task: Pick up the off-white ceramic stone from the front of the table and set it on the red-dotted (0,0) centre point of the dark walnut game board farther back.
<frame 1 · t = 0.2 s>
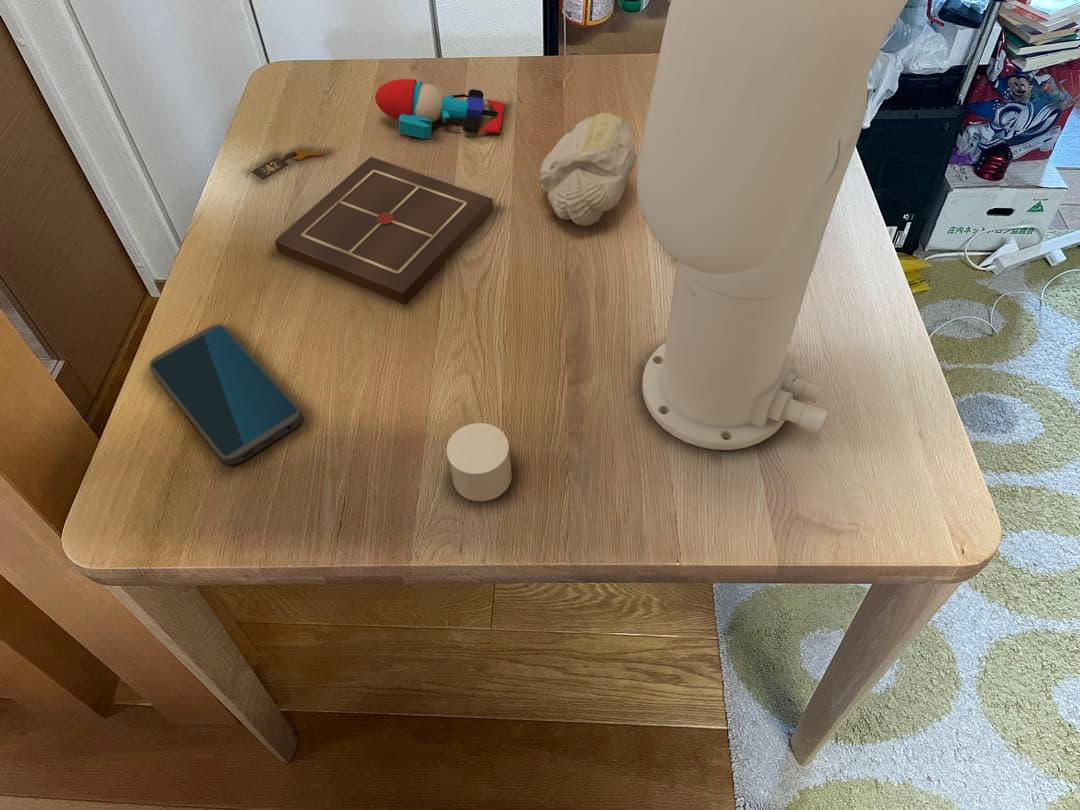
smartphone: (226, 394, 72), on the table
key tag: (289, 166, 93), on the table
toy figure: (441, 123, 98), on the table
board: (387, 230, 85), on the table
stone: (482, 476, 66), on the table
stone block: (717, 231, 84), on the table
fossil replica: (587, 201, 88), on the table
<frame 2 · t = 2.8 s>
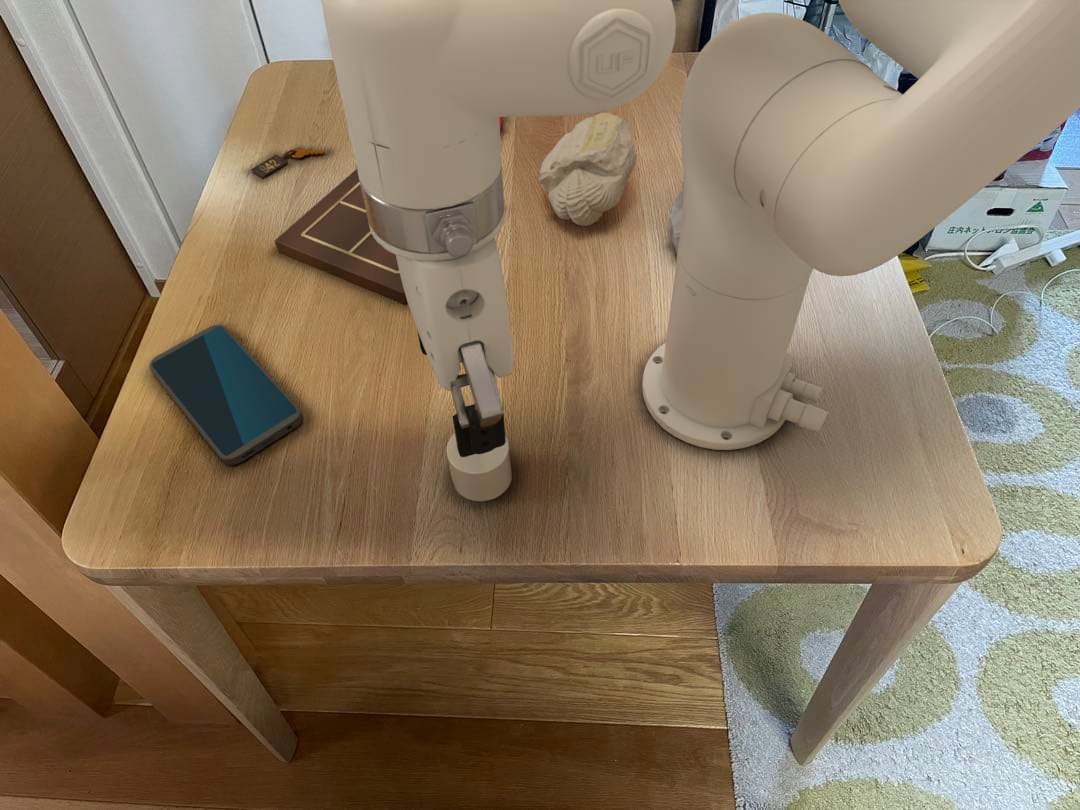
hand: (461, 395, 58), 10 cm above the table, tool pointing down, fingers open, 9 cm apart
nothing on the table moved.
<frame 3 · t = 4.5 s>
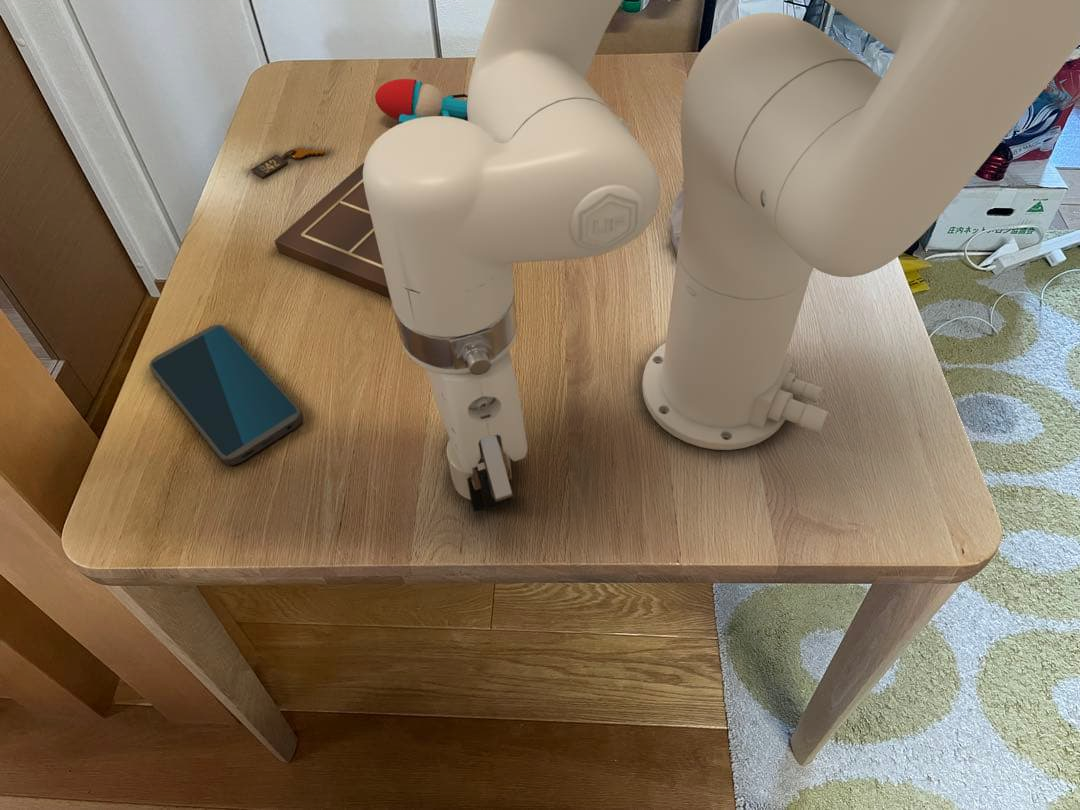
hand: (481, 473, 66), 0 cm above the table, tool pointing down, fingers closed on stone, 4 cm apart
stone: (482, 476, 66), on the table, touching gripper
everything else where it was.
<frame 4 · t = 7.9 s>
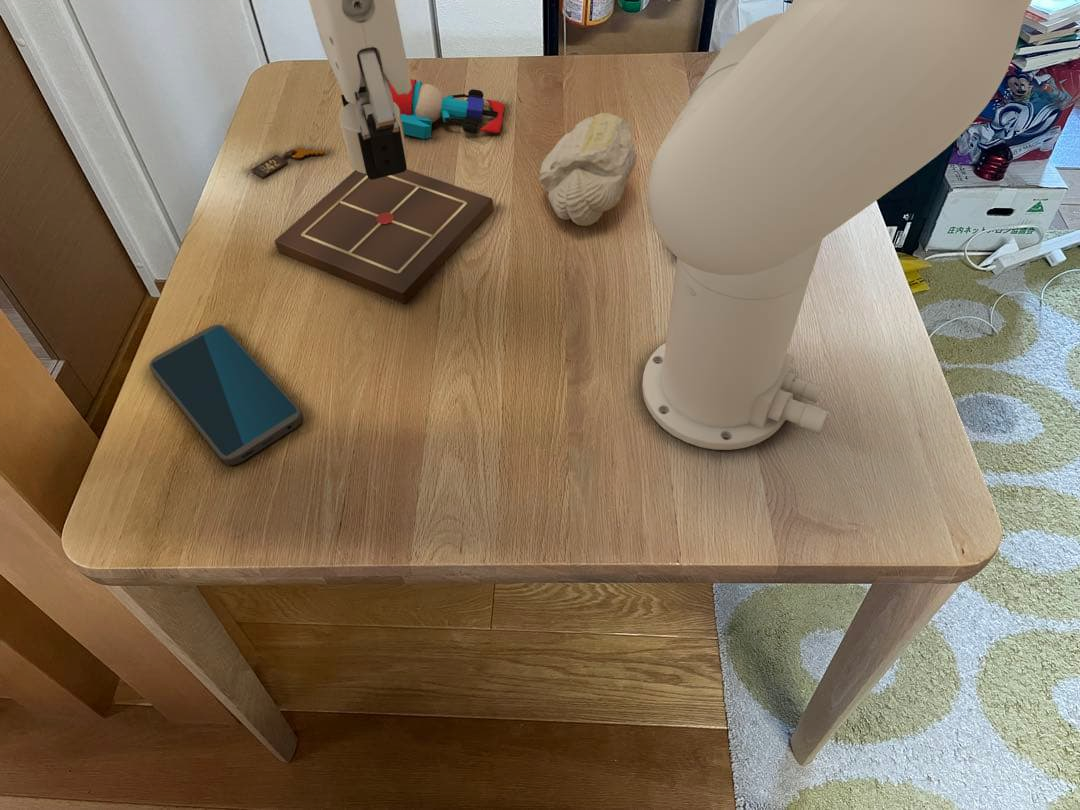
hand: (378, 152, 67), 16 cm above the table, tool pointing down, fingers closed on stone, 4 cm apart
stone: (378, 157, 67), point 15 cm above the table, touching gripper
everything else where it was.
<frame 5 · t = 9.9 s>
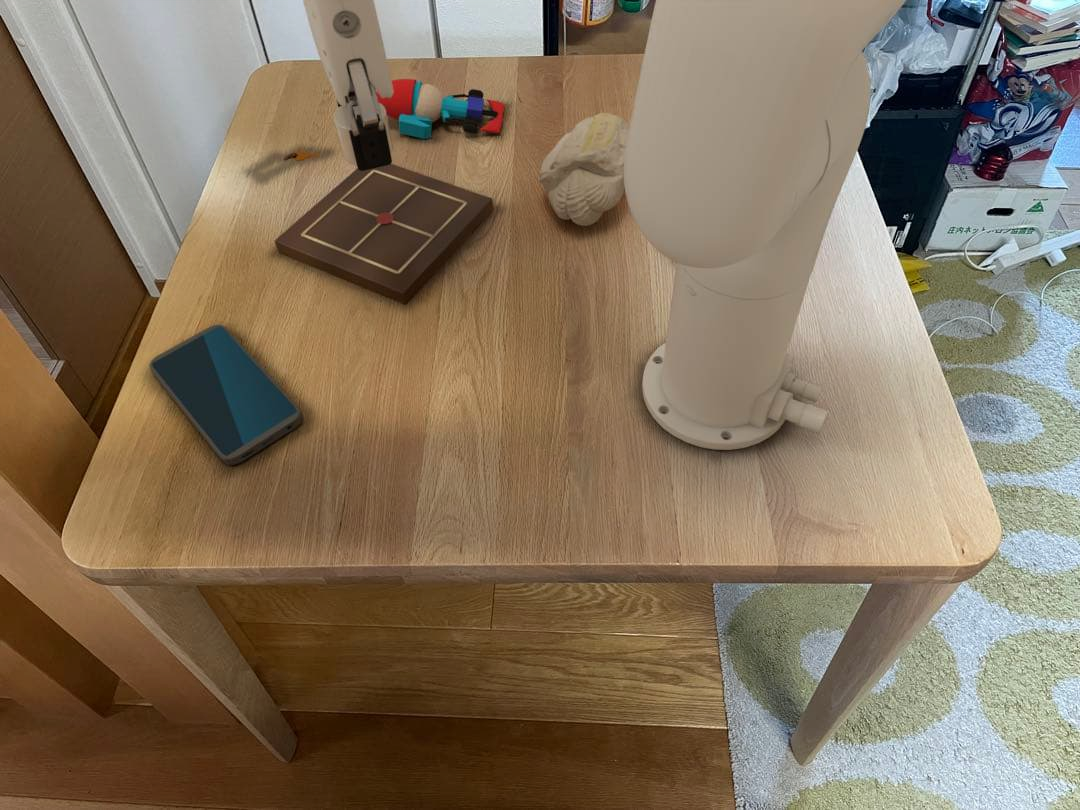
hand: (368, 147, 78), 10 cm above the table, tool pointing down, fingers closed on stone, 4 cm apart
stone: (367, 151, 78), point 10 cm above the table, touching gripper
everything else where it was.
when the fingers open (2 cm above the table, at t = 12.1 s): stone stays where it is, resting on board.
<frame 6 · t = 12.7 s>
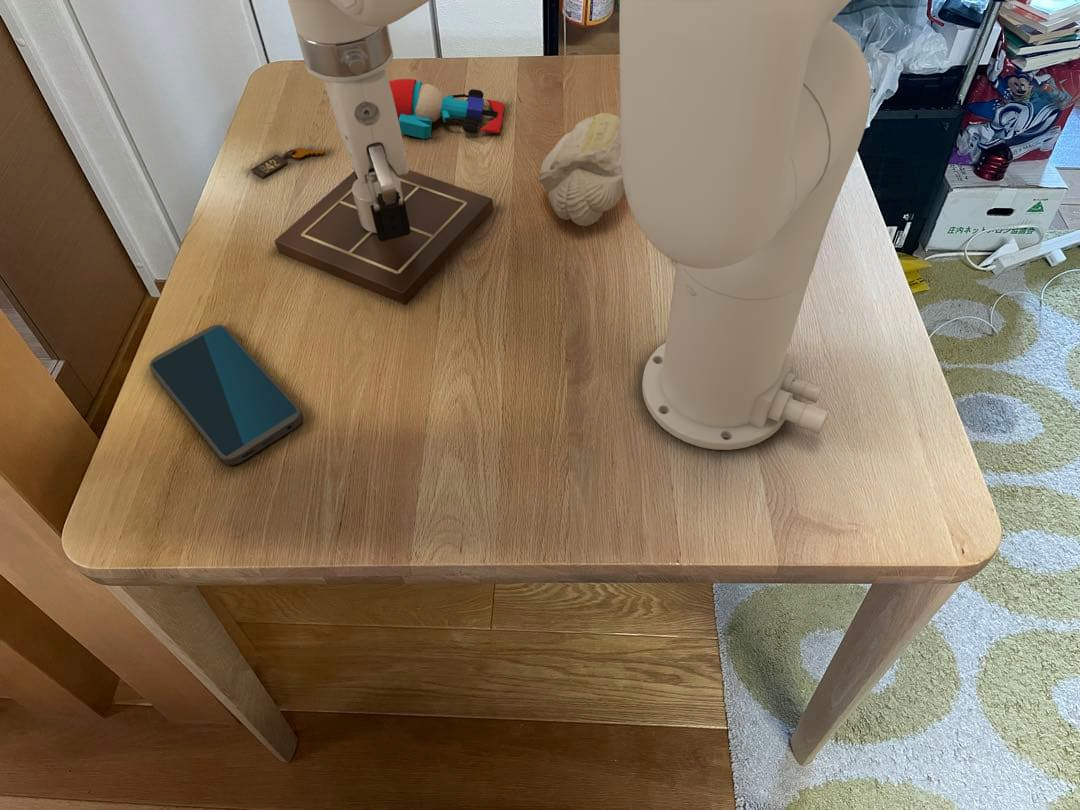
hand: (383, 207, 83), 3 cm above the table, tool pointing down, fingers open, 9 cm apart
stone: (383, 218, 84), point 2 cm above the table, touching board
everything else where it was.
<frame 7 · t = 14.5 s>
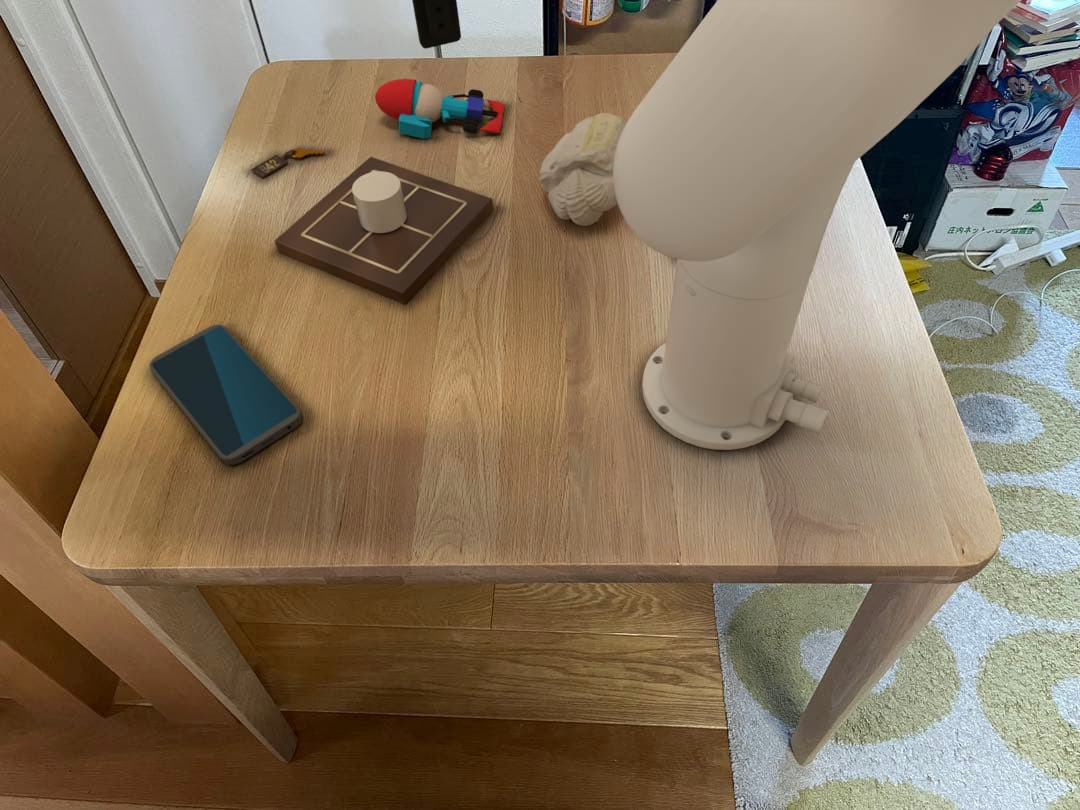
hand: (424, 16, 66), 23 cm above the table, tool pointing down, fingers open, 9 cm apart
nothing on the table moved.
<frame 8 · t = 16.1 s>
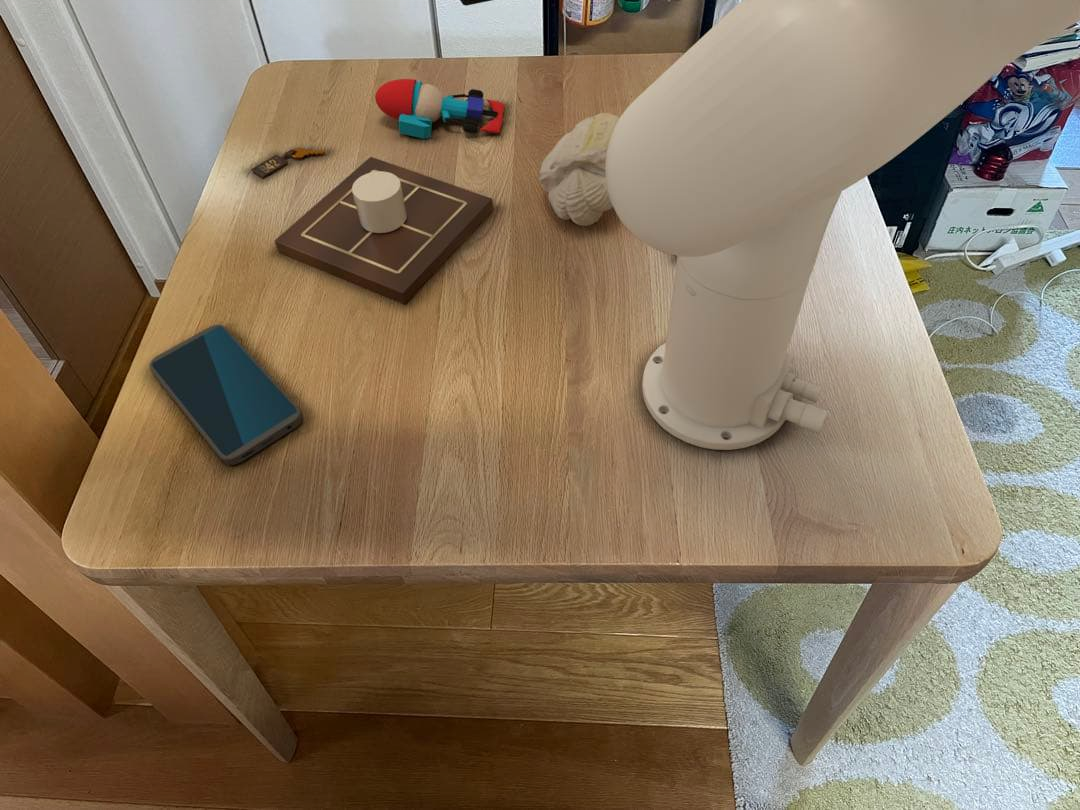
nothing on the table moved.
at the end: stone 0.2 cm off-centre on the board, point 1.6 cm above the board's base; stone tilted 0°; the gripper is holding nothing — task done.
